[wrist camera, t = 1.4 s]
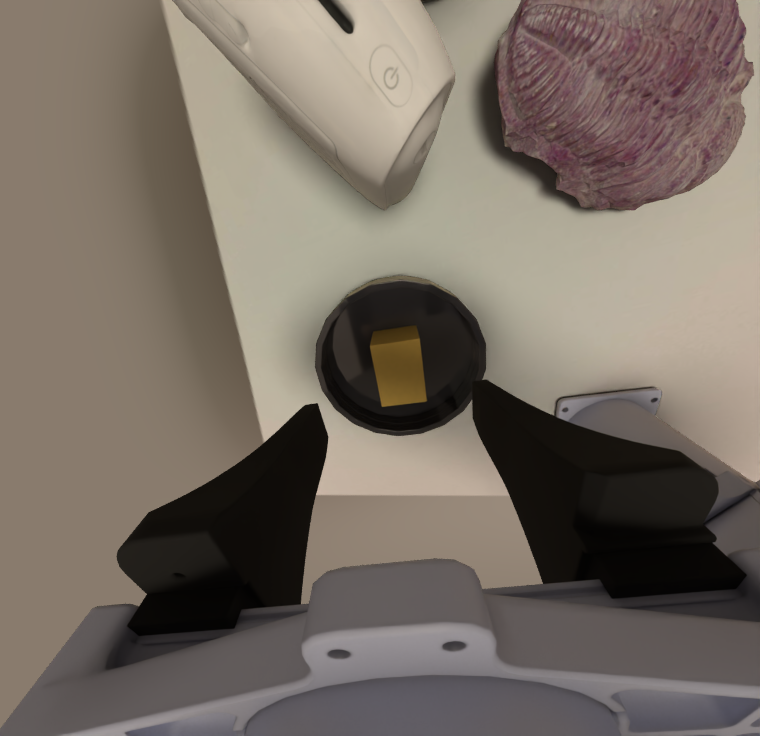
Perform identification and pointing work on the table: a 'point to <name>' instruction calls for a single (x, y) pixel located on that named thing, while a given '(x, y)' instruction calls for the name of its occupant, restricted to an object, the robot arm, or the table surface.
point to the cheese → (398, 366)
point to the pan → (438, 348)
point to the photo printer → (342, 79)
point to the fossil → (624, 94)
